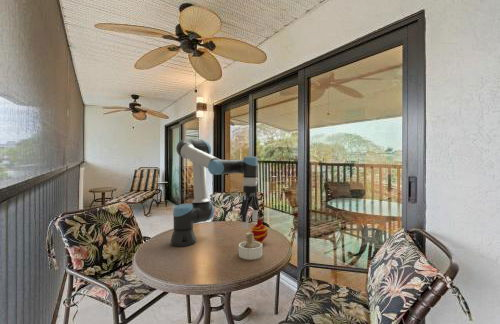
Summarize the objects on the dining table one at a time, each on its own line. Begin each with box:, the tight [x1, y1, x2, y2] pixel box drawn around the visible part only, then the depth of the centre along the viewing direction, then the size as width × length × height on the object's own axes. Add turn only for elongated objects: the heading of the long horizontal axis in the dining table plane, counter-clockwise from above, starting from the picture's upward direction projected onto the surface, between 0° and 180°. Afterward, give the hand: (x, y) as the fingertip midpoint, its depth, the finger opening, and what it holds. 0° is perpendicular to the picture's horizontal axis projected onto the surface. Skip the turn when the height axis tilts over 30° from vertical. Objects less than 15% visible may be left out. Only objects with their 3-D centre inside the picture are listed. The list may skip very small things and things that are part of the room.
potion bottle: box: [250, 217, 269, 245], centre depth 157 cm, size 10×10×15 cm
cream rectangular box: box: [245, 232, 255, 248], centre depth 137 cm, size 4×2×11 cm, turn 69°
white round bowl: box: [238, 240, 263, 261], centre depth 137 cm, size 13×13×6 cm
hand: (250, 224), depth 137 cm, fingers open, 13 cm apart
